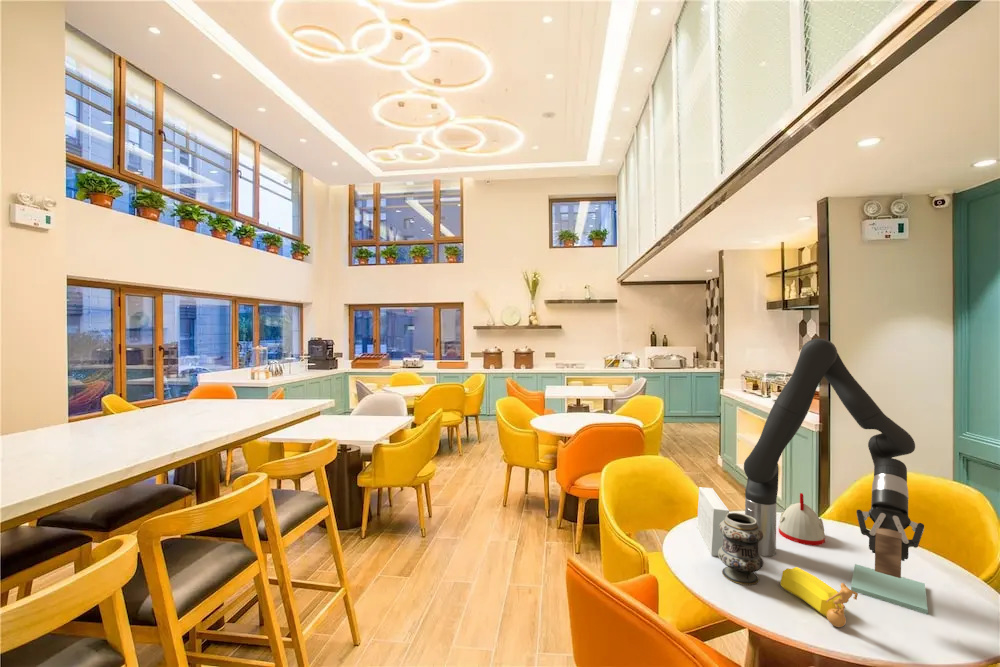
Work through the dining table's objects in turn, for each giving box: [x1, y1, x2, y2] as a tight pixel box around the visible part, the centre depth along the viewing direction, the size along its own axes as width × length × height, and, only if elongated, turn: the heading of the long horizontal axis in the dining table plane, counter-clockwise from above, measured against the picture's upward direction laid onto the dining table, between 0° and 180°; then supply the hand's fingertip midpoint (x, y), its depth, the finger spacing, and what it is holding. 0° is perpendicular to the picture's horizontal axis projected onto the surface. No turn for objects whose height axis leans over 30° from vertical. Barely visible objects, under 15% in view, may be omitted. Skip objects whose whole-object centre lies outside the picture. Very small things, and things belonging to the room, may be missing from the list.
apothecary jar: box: [717, 512, 764, 586], centre depth 136 cm, size 12×12×18 cm
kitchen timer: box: [778, 492, 826, 546], centre depth 162 cm, size 14×14×15 cm
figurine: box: [826, 582, 859, 628], centre depth 113 cm, size 8×6×12 cm
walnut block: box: [874, 527, 902, 578], centre depth 115 cm, size 5×5×10 cm
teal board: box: [850, 563, 929, 615], centre depth 130 cm, size 16×16×1 cm
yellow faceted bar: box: [779, 566, 845, 618], centre depth 125 cm, size 18×7×8 cm
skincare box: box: [696, 486, 730, 557], centre depth 158 cm, size 21×6×16 cm, turn 168°
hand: (888, 555), depth 114 cm, fingers closed on walnut block, 5 cm apart
